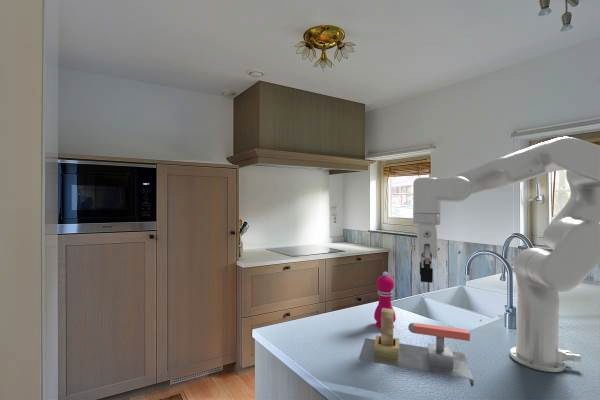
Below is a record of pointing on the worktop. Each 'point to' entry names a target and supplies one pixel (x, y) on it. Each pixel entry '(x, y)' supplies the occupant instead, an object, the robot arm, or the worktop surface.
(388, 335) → the peg
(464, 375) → the board
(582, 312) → the worktop surface
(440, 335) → the orange and grey block
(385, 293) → the pepper mill
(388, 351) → the holed wooden block
